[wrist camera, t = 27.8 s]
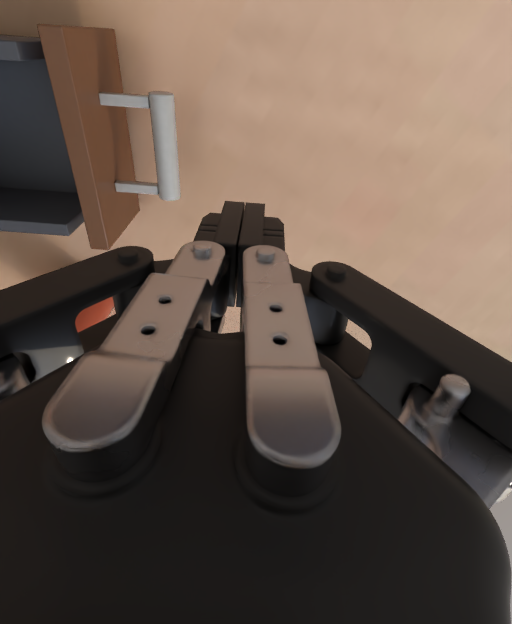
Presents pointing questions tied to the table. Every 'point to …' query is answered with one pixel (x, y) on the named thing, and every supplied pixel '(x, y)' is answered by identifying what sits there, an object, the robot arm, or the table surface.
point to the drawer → (75, 136)
